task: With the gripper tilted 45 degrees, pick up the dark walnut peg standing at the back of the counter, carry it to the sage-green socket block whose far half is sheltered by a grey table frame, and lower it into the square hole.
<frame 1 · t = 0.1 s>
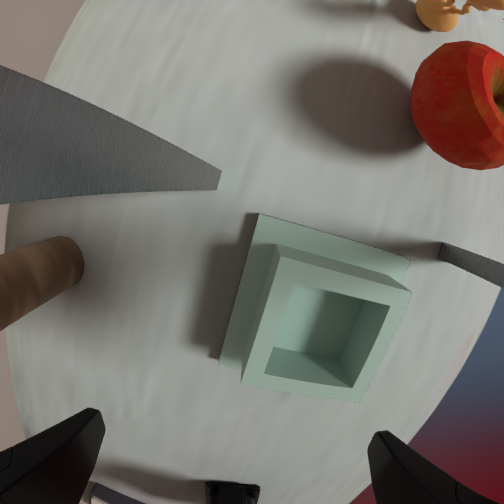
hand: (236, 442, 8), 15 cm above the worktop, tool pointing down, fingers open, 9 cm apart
socket block: (313, 311, 22), on the worktop
figurine: (426, 29, 17), on the worktop
grey table frame: (313, 311, 22), on the worktop
peg: (64, 261, 22), on the worktop
apple: (425, 122, 19), on the worktop
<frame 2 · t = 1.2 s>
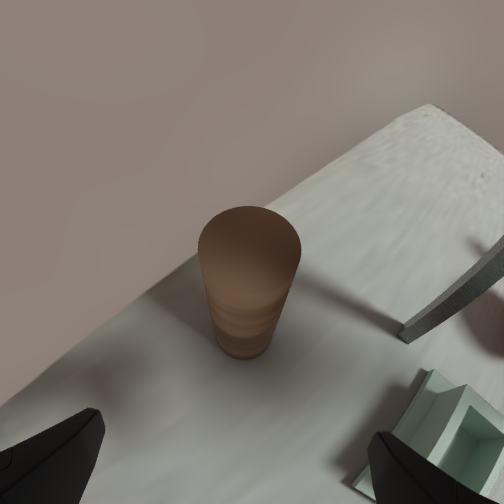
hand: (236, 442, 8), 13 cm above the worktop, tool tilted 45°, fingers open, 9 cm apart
socket block: (437, 457, 17), on the worktop
grey table frame: (437, 457, 17), on the worktop
peg: (243, 333, 23), on the worktop
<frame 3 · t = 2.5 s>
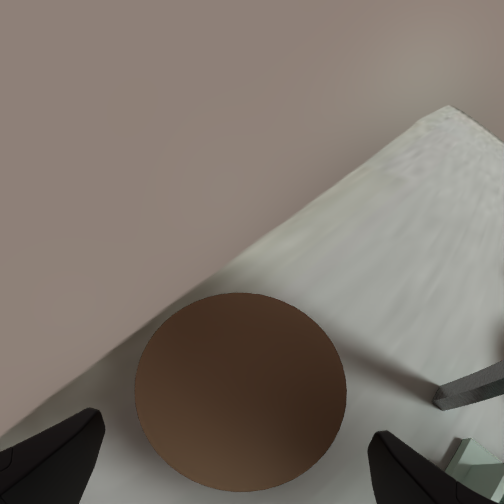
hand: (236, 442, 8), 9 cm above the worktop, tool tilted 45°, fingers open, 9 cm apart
peg: (238, 413, 16), on the worktop
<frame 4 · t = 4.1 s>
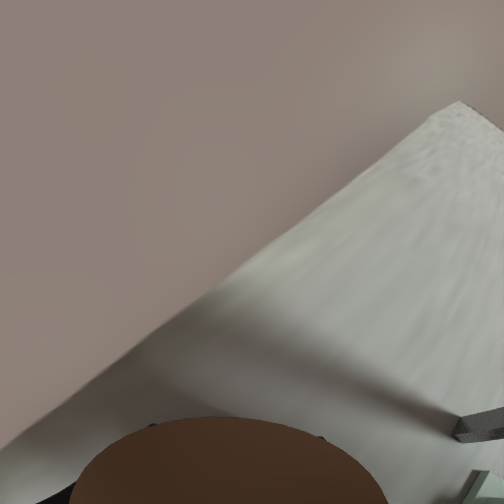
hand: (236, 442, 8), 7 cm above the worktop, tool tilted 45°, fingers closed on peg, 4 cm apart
peg: (234, 458, 13), on the worktop, touching gripper
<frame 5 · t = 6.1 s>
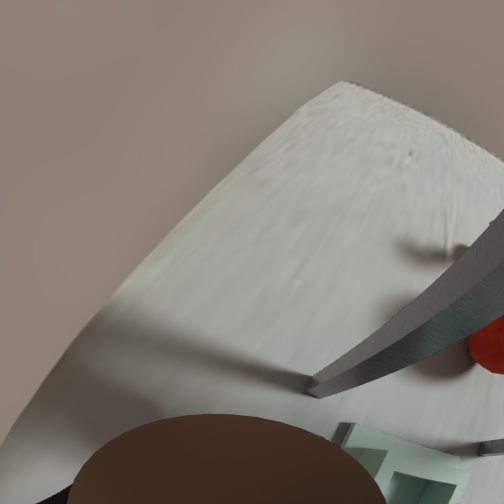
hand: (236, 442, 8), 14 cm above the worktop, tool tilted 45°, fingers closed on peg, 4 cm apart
peg: (234, 457, 13), point 7 cm above the worktop, touching gripper
apple: (474, 349, 23), on the worktop
when the fingers open (10 cm above the worktop, at t = 8.4 s): peg drops 2 cm, resting on socket block.
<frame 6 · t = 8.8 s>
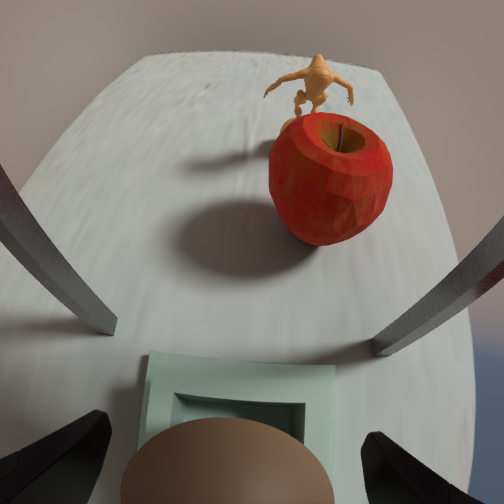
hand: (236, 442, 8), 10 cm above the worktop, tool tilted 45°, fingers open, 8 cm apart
socket block: (235, 451, 15), on the worktop
figurine: (297, 157, 30), on the worktop
grey table frame: (235, 451, 15), on the worktop
peg: (234, 453, 15), point 1 cm above the worktop, touching socket block
apple: (311, 234, 25), on the worktop
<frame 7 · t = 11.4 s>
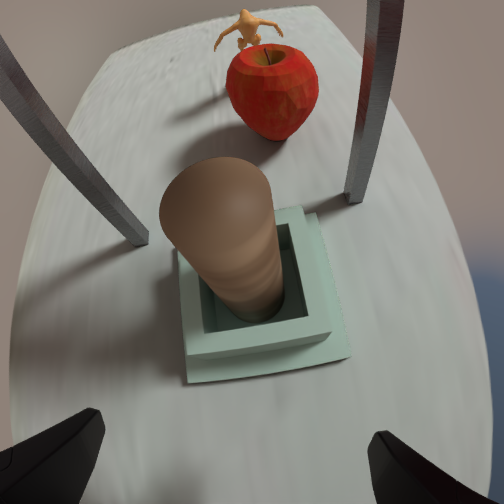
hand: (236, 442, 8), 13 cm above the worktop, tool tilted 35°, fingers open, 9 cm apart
socket block: (257, 297, 23), on the worktop
figurine: (256, 88, 35), on the worktop
grey table frame: (257, 297, 23), on the worktop
peg: (255, 294, 22), point 1 cm above the worktop, touching socket block
apple: (278, 135, 31), on the worktop
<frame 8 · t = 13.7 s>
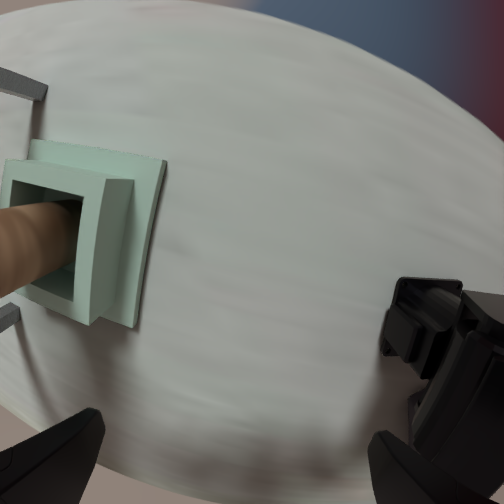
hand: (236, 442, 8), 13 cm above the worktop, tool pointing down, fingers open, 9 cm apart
socket block: (78, 227, 20), on the worktop
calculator: (463, 396, 24), on the worktop
grey table frame: (78, 227, 20), on the worktop
peg: (71, 229, 19), point 1 cm above the worktop, touching socket block
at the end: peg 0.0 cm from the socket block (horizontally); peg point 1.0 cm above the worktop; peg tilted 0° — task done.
